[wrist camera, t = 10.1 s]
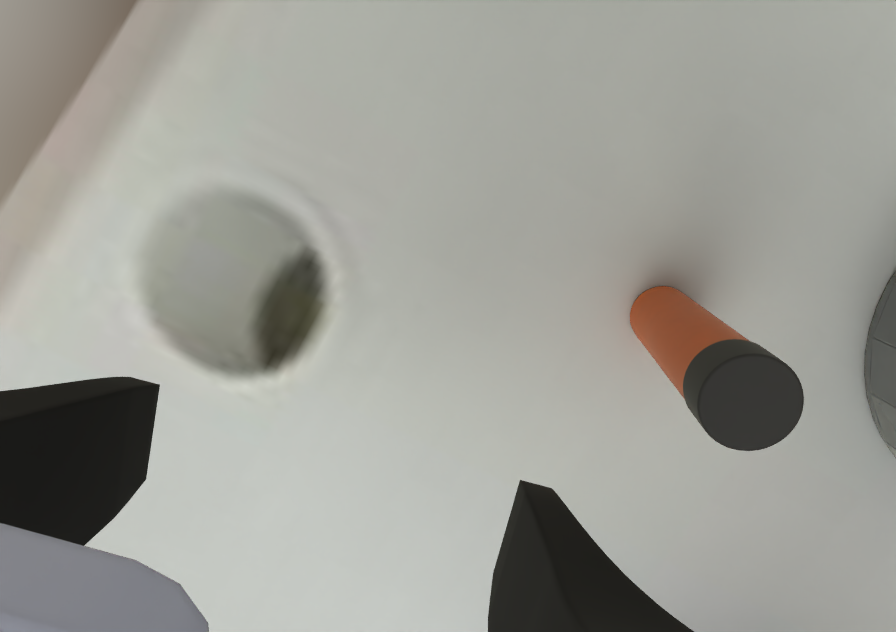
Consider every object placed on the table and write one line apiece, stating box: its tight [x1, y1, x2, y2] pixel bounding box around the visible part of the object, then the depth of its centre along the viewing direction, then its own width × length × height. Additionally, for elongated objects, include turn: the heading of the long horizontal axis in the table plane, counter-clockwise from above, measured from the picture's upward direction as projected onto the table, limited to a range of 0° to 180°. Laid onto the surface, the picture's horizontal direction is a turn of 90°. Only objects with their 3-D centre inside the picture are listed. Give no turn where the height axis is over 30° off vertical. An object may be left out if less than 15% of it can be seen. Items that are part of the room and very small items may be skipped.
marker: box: [630, 286, 804, 451], centre depth 18 cm, size 2×2×8 cm
